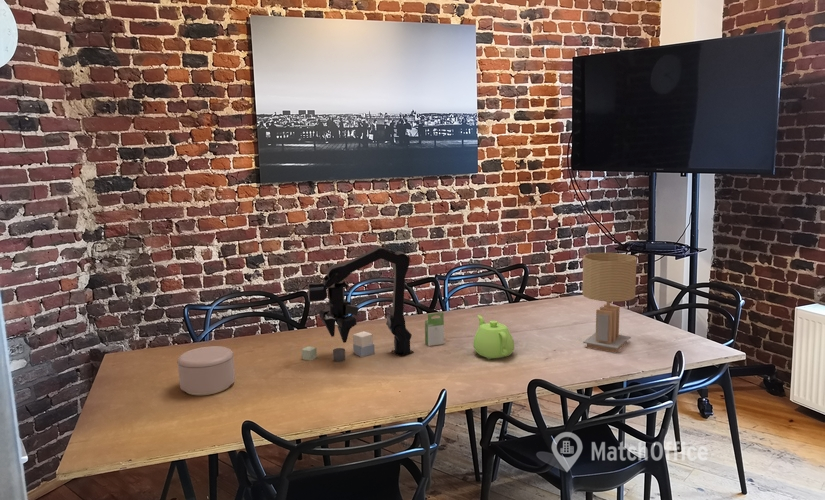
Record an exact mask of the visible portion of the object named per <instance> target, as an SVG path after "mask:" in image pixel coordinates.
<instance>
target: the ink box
mask: <svg viewBox="0 0 825 500" xmlns="http://www.w3.org/2000/svg"><path fill="white" fill-rule="evenodd" d="M436 316H438V317H436ZM433 317H434V318H433ZM444 318H445V317H444V312H442V311H441V312H435V313H434V312H433V313H428V314H427V320H426V319H425V320H424V341H425V342H424V343H425V345H426V346H428V347H431V346H432V347H433V346H437V345H439V346H440V345H445V324H444V323H445V322H444Z"/></svg>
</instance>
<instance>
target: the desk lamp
mask: <svg viewBox="0 0 825 500" xmlns="http://www.w3.org/2000/svg"><path fill="white" fill-rule="evenodd" d="M637 261H638V257H636V256H635V255H631V254H627V253H618V252H592V253H587V254H585V255H583V257H582V288H581V289H582V296H583V297H584V298H587V299H589V300H594V301H595V300H596V301H600V302H606V304H603V306H601V307H599V309H596V313H595V315H596V316H595V333H593V334H592V335H590V336H589V337H588V338H586V339H584V340H583V341H582V343H583V344H586V348H588V349H589V348H590V349H595V350H601V351H605V352H610V353H617V352H618V351H619V350H620V349H622V348H623V347H624V346H625V345H626V344H627V343H628V342H629V340H630V339H631V338H632V336H628V335H622V334H620V309H621V306H618V305H611V302H617V303H618V302H628V301H631V300H634V299H635V298H636V290H637V289H636V285H637Z"/></svg>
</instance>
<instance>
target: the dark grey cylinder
mask: <svg viewBox="0 0 825 500" xmlns="http://www.w3.org/2000/svg"><path fill="white" fill-rule="evenodd" d="M332 356H333V362H335V363H342V362H345V361H346V352H345V348H343V347H337V348H334V349H332Z"/></svg>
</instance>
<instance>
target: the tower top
mask: <svg viewBox="0 0 825 500" xmlns="http://www.w3.org/2000/svg"><path fill="white" fill-rule="evenodd" d="M352 338H353V339H352V342H353V343H352V344H354V345H357V346H360V347H365V346H368V345H371V344H374V339H373V338H374V336H373V333H371V332H368V331H364V330H363V331H360V332H357V333H354V334H352Z"/></svg>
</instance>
